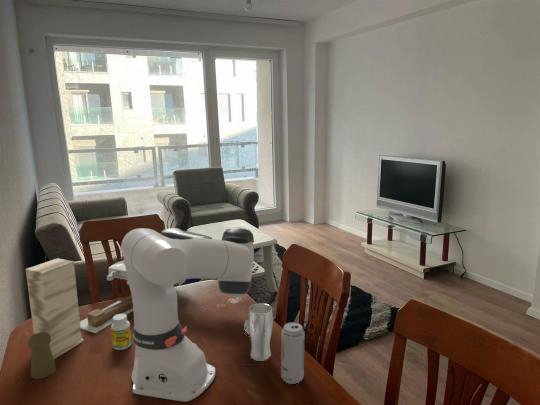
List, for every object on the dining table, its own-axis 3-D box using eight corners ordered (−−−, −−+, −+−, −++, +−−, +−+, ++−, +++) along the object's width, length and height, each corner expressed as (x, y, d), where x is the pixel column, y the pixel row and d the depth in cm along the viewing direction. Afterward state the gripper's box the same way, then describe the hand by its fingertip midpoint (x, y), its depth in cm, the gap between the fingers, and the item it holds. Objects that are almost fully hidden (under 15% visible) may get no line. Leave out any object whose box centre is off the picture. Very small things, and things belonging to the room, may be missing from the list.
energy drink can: (279, 372, 105) (279, 321, 102) (301, 370, 105) (302, 320, 102) (282, 387, 99) (283, 333, 96) (305, 385, 99) (306, 332, 97)
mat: (139, 307, 142) (139, 305, 142) (95, 333, 124) (95, 331, 124) (118, 302, 146) (118, 300, 146) (73, 326, 128) (73, 325, 128)
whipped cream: (267, 339, 123) (269, 325, 122) (247, 341, 121) (249, 327, 119) (259, 325, 130) (260, 312, 129) (240, 327, 128) (241, 314, 127)
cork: (37, 381, 101) (33, 343, 98) (26, 373, 104) (21, 336, 102) (60, 369, 106) (56, 332, 103) (48, 362, 109) (44, 326, 107)
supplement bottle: (129, 339, 121) (127, 310, 119) (133, 347, 116) (131, 317, 115) (111, 344, 118) (108, 315, 116) (114, 352, 114) (112, 322, 112)
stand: (83, 341, 119) (75, 261, 114) (53, 359, 110) (43, 273, 105) (64, 335, 123) (55, 257, 118) (32, 352, 113) (22, 269, 108)
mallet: (139, 305, 142) (139, 295, 141) (95, 327, 126) (94, 316, 126) (132, 303, 144) (131, 293, 143) (88, 324, 128) (87, 313, 127)
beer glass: (277, 353, 113) (277, 306, 110) (264, 366, 107) (264, 316, 104) (257, 346, 117) (257, 300, 114) (243, 358, 111) (243, 310, 108)
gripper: (167, 279, 146) (141, 293, 133) (125, 271, 154) (98, 284, 141) (166, 263, 144) (140, 276, 132) (124, 256, 152) (96, 268, 140)
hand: (118, 280), depth 137 cm, fingers open, 8 cm apart
